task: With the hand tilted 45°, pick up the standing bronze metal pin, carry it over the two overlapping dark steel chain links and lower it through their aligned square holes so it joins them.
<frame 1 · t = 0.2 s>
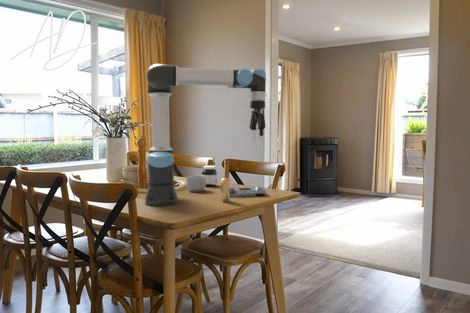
hand: (256, 142, 209), 27 cm above the table, tool pointing down, fingers open, 13 cm apart
spread jar: (207, 185, 243), on the table
pin: (225, 201, 195), on the table
link 2: (244, 194, 213), on the table
link 1: (240, 191, 212), in the link 2
teacup: (196, 190, 226), on the table
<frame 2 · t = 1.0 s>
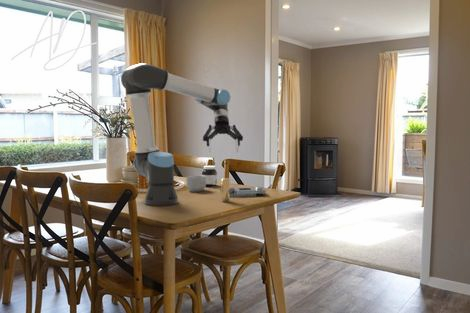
hand: (223, 150, 203), 24 cm above the table, tool tilted 45°, fingers open, 13 cm apart
nothing on the table moved.
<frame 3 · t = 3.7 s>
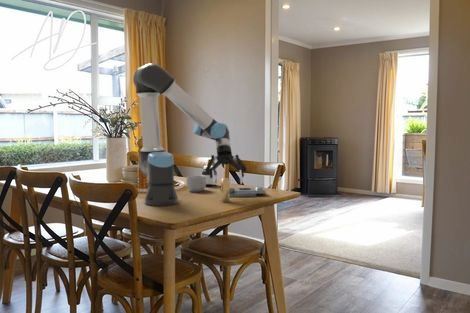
hand: (227, 182, 199), 8 cm above the table, tool tilted 45°, fingers open, 13 cm apart
nothing on the table moved.
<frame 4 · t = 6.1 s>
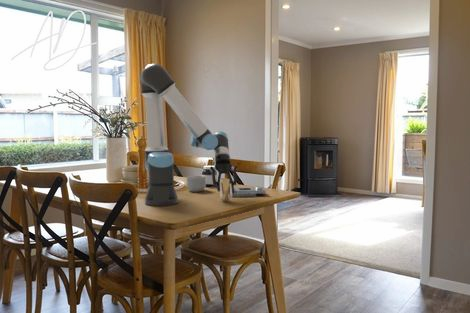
hand: (226, 196, 191), 3 cm above the table, tool tilted 45°, fingers closed on pin, 4 cm apart
pin: (225, 201, 195), on the table, touching gripper
everything else where it was.
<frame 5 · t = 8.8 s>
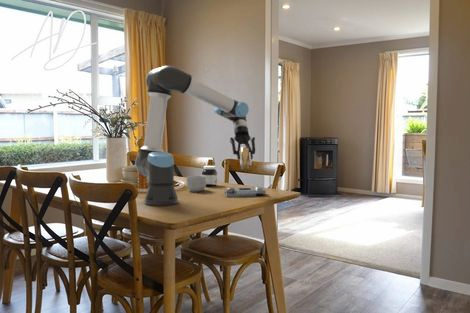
hand: (246, 163, 207), 17 cm above the table, tool tilted 45°, fingers closed on pin, 4 cm apart
pin: (244, 169, 211), point 13 cm above the table, touching gripper
everything else where it was.
when the fingers open (6 cm above the table, at t = 11.4 s): pin drops 3 cm, resting in link 1.
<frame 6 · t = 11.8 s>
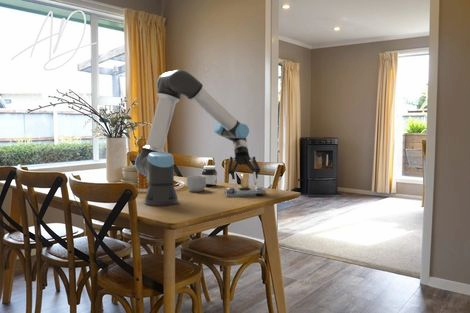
hand: (245, 183, 209), 6 cm above the table, tool tilted 45°, fingers open, 9 cm apart
pin: (244, 194, 213), resting in link 1
everything else where it was.
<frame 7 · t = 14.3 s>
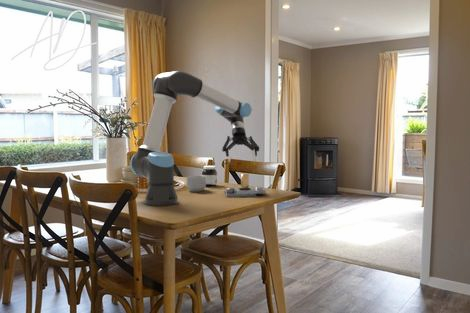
hand: (242, 160, 219), 17 cm above the table, tool tilted 45°, fingers open, 13 cm apart
nothing on the table moved.
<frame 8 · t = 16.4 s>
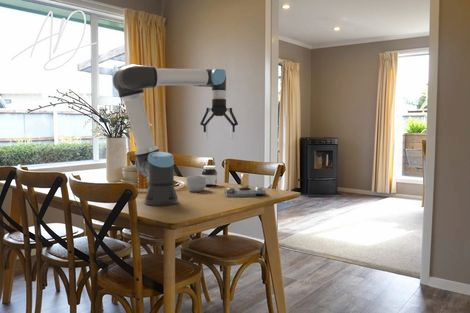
hand: (219, 138, 221), 29 cm above the table, tool pointing down, fingers open, 13 cm apart
nothing on the table moved.
at the end: pin 0.0 cm off-centre on the link 1, point 0.0 cm above the link 1's base; pin tilted 0°; the gripper is holding nothing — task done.
